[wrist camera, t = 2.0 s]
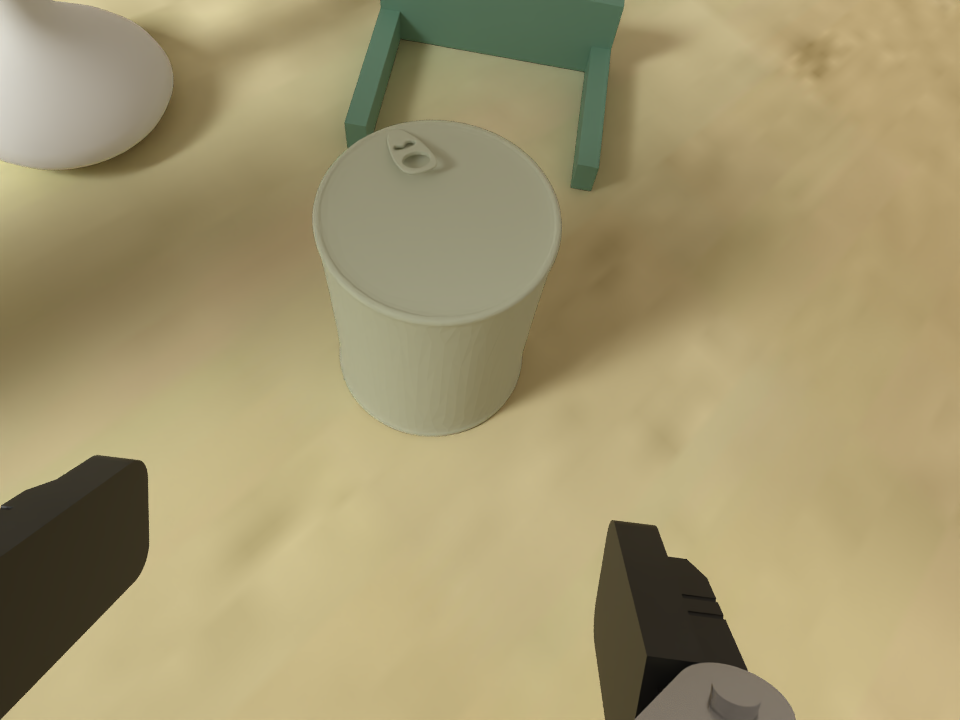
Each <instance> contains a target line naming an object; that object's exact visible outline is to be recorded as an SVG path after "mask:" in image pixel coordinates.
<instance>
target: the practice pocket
mask: <svg viewBox="0 0 960 720" xmlns="http://www.w3.org/2000/svg"><path fill="white" fill-rule="evenodd" d="M380 3H381V9H380V12H379V15H378V18H377V22H376V25H375V28H374V31H373V34H372V37H371V41H370V44H369V47H368V50H367V53H366V56H365V60H364V63H363V66H362V69H361V72H360V75H359V79H358V82H357V85H356V88H355V91H354V94H353V98H352V101H351V104H350V107H349V110H348V113H347V117H346V120H345V131H346V139H347V147H348V148H349V147H350V146H352V145H353V144H354V143H356V142H357V141H359V140H360V139H362V138H364V137H366V136H368V135H370V134H372V133H373V132H374V129H375V125H376V122H377V118H378V115H379V111H380V108H381V104H382V101H383V97H384V94H385V91H386V87H387V84H388V80H389V77H390V73H391V70H392V66H393V63H394V59H395V56H396V53H397V49H398V46H399V42H400V39H405V40H411V41H416V42H422V43H427V44H433V45H438V46H444V47H450V48H455V49H461V50H466V51H472V52H477V53H483V54H488V55H494V56H500V57H505V58H511V59H516V60H522V61H527V62H533V63H539V64H544V65H550V66H555V67H561V68H566V69H572V70H577V71H583V72H585V74H584V82H583V91H582V99H581V107H580V115H579V123H578V131H577V139H576V148H575V156H574V164H573V172H572V180H571V188H576V189H582V190H588V191H591V189H592V186H593V183H594V180H595V178H596V175H597V172H598V169H599V161H600V152H601V142H602V132H603V122H604V113H605V103H606V93H607V83H608V73H609V64H610V54H611V48H612V44H613V41H614V38H615V35H616V31H617V28H618V25H619V21H620V18H621V15H622V12H623V8H624V0H380Z"/></svg>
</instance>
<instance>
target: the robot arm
mask: <svg viewBox="0 0 960 720" xmlns="http://www.w3.org/2000/svg"><path fill="white" fill-rule="evenodd" d="M148 549H149V511H148V473H147V469H146V466H145V464H144V463H143V462H142V461H140V460H133V459H125V458H117V457H109V456H101V455H96V456H93V457H91V458H89V459H88V460H86V461H84V462H83V463H81V464H80V465H78V466H77V467H75V468H74V469H72V470H70V471H69V472H67V473H66V474H64V475H63V476H61V477H60V478H58V479H56V480H53V481H51V482H48V483H45V484H42V485H39V486H36V487H34V488H31V489H28V490H25V491H24V492H22V493H20V494H19V495H17V496H16V497H14V498H12V499H11V500H9V501H8V502H6V503H4V504H3V505H1V508H0V720H1V718H2V717H3V716H4V715H5V714H6V713H7V712H8V711H9V710H10V709H11V708H12V707H13V706H14V705H15V704H16V703H17V702H18V701H19V700H20V699H21V698H22V697H23V696H24V695H25V694H26V693H27V692H28V691H29V690H30V689H31V688H32V687H33V686H34V685H35V684H36V683H37V681H38V680H39V679H40V678H41V677H42V676H43V675H44V674H45V673H46V672H47V671H48V670H49V669H50V668H51V667H52V666H53V665H54V664H55V663H56V662H57V661H58V660H59V659H60V658H61V657H62V656H63V655H64V654H65V653H66V652H67V651H68V650H69V649H70V648H71V647H72V646H73V644H74V643H75V642H76V641H77V640H78V639H79V638H80V637H81V636H82V635H83V634H84V633H85V632H86V631H87V630H88V629H89V628H90V627H91V626H92V625H93V624H94V623H95V622H96V621H97V620H98V619H99V618H100V617H101V616H102V615H103V614H104V613H105V612H106V611H107V610H108V608H109V607H110V606H111V605H112V604H113V603H114V602H115V601H116V600H117V599H118V598H119V597H120V596H121V595H122V594H123V593H124V592H125V591H126V590H127V589H128V588H129V587H130V586H131V585H132V584H133V583H134V582H135V581H136V579H137V578H138V577H139V575H140V573H141V572H142V570H143V567H144V565H145V562H146V559H147V555H148ZM594 643H595V650H596V657H597V664H598V672H599V679H600V686H601V693H602V700H603V708H604V715H605V720H796V719H795V714H794V712H793V710H792V707H791V706H790V704H789V703H788V701H787V700H786V699H785V697H784V696H783V695H782V694H781V693H780V692H779V691H778V690H777V689H775V688H774V687H773V686H772V685H771V684H769V683H768V682H766V681H765V680H763V679H762V678H760V677H758V676H756V675H755V674H752V673H750V672H748V670H747V668H746V665H745V663H744V661H743V659H742V656H741V654H740V652H739V649H738V647H737V645H736V643H735V640H734V638H733V636H732V634H731V631H730V629H729V627H728V625H727V622H726V620H724V619H723V613H722V611H721V609H720V606H719V604H718V602H716V597H715V595H714V593H713V591H712V588H711V586H710V584H709V581H708V579H707V578H706V577H705V576H704V575H703V574H702V573H701V572H700V571H699V570H698V569H697V568H696V567H695V566H693V565H692V564H691V563H690V562H689V561H688V560H687V559H682V558H674V557H668V556H667V553H666V550H665V548H664V545H663V542H662V539H661V537H660V534H659V531H658V529H657V527H656V526H655V525H647V524H639V523H631V522H623V521H615V520H612V521H611V522H610V524H609V528H608V532H607V537H606V543H605V549H604V555H603V561H602V568H601V574H600V580H599V586H598V592H597V598H596V605H595V614H594Z"/></svg>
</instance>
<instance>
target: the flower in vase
mask: <svg viewBox="0 0 960 720" xmlns="http://www.w3.org/2000/svg"><path fill="white" fill-rule="evenodd" d="M172 90H173V71H172V66H171V63H170V61H169V58H168V56H167V55H166V53H165V51H164V50H163V49H162V47H161V46H160V45H159V44H158V43H157V42H156V41H155V40H154V39H153V38H152V36H151V35H150V34H149V33H147V32H146V31H145V30H144V29H143V28H142V27H140V26H139V25H137V24H136V23H134V22H133V21H131V20H129V19H127V18H125V17H123V16H120V15H117V14H114V13H112V12H109V11H106V10H103V9H100V8H97V7H93V6H88V5H82V4H74V3H67V2H56V1H53V0H0V160H2V161H5V162H8V163H11V164H15V165H19V166H23V167H28V168H34V169H41V170H66V169H75V168H80V167H86V166H90V165H93V164H97V163H100V162H103V161H106V160H109V159H111V158H113V157H115V156H117V155H119V154H122V153H124V152H125V151H127V150H128V149H130V148H132V147H133V146H135V145H136V144H137V143H139V142H140V141H141V140H143V139H144V138H145V137H146V136H147V135H148V134H149V133H150V132H151V131H152V130H153V129H154V127H155V126H156V125H157V124H158V122H159V121H160V119H161V117H162V116H163V114H164V112H165V110H166V108H167V106H168V103H169V101H170V98H171V95H172Z"/></svg>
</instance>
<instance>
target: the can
mask: <svg viewBox="0 0 960 720" xmlns="http://www.w3.org/2000/svg"><path fill="white" fill-rule="evenodd" d="M312 223H313V233H314V238H315V242H316V246H317V249H318V252H319V254H320V257H321V259H322V263H323V267H324V271H325V276H326V280H327V284H328V288H329V293H330V297H331V302H332V307H333V312H334V316H335V321H336V326H337V331H338V336H339V341H340V363H341V369H342V373H343V376H344V380H345V382H346V384H347V387H348V388H349V390H350V392H351V394H352V395H353V397H354V398H355V400H356V401H357V402H358V403H359V405H360V406H361V407H362V408H363V409H364V410H365V411H366V412H367V413H369V414H370V415H371V416H372V417H374V418H375V419H377V420H378V421H379V422H381V423H383V424H385V425H387V426H389V427H391V428H393V429H395V430H398V431H401V432H404V433H408V434H412V435H418V436H445V435H451V434H456V433H460V432H463V431H466V430H468V429H471V428H473V427H475V426H477V425H479V424H481V423H482V422H484V421H486V420H487V419H489V418H490V417H491V416H492V415H494V414H495V413H496V412H497V411H498V410H499V409H500V408H501V407H502V406H503V405H504V404H505V402H506V401H507V400H508V398H509V397H510V395H511V393H512V392H513V390H514V388H515V386H516V383H517V381H518V378H519V375H520V370H521V365H522V353H523V350H524V347H525V343H526V340H527V337H528V334H529V331H530V327H531V324H532V321H533V318H534V314H535V311H536V308H537V306H538V303H539V300H540V297H541V294H542V291H543V288H544V285H545V282H546V279H547V276H548V273H549V271H550V269H551V268H552V266H553V264H554V262H555V259H556V256H557V254H558V250H559V247H560V241H561V233H562V221H561V212H560V207H559V203H558V200H557V197H556V194H555V192H554V189H553V187H552V185H551V184H550V182H549V180H548V178H547V177H546V175H545V174H544V173H543V171H542V170H541V168H540V167H539V166H538V165H537V164H536V162H535V161H534V160H533V159H532V158H531V157H530V156H528V155H527V154H526V153H525V152H524V151H522V150H521V149H520V148H519V147H517V146H516V145H514V144H513V143H511V142H510V141H508V140H506V139H505V138H503V137H501V136H499V135H497V134H495V133H493V132H491V131H488V130H485V129H482V128H480V127H476V126H473V125H469V124H465V123H460V122H454V121H444V120H420V121H412V122H405V123H400V124H396V125H392V126H389V127H386V128H383V129H381V130H378V131H376V132H373V133H372V134H370V135H368V136H366V137H364V138H362V139H360V140H359V141H357V142H356V143H354V144H353V145H352V146H350V147H349V148H348V149H346V150H345V151H344V152H343V153H342V154H341V155H340V156H339V157H338V158H337V159H336V160H335V161H334V163H333V164H332V165H331V166H330V168H329V169H328V171H327V172H326V174H325V176H324V177H323V179H322V181H321V183H320V185H319V188H318V190H317V193H316V197H315V201H314V206H313V216H312Z"/></svg>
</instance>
